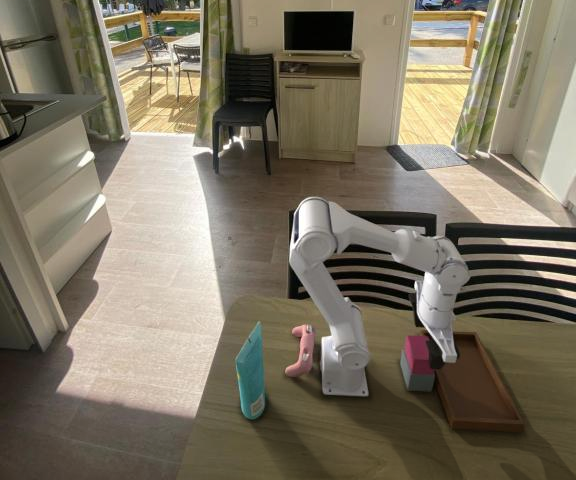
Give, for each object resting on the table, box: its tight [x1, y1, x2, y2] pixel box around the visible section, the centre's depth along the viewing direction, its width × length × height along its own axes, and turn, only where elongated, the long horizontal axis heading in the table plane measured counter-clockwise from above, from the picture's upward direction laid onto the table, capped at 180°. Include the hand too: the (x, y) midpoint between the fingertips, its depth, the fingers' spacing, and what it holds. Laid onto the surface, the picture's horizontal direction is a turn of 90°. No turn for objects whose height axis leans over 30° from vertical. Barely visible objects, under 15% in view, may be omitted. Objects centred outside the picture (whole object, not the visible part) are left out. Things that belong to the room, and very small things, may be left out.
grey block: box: [399, 347, 435, 392], centre depth 64 cm, size 5×5×5 cm
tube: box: [234, 320, 266, 420], centre depth 57 cm, size 7×5×19 cm, turn 156°
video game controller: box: [284, 323, 317, 378], centre depth 68 cm, size 10×5×7 cm, turn 168°
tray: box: [419, 329, 525, 433], centre depth 64 cm, size 13×16×3 cm
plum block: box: [403, 334, 435, 375], centre depth 62 cm, size 4×4×4 cm
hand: (426, 345), depth 61 cm, fingers open, 7 cm apart
